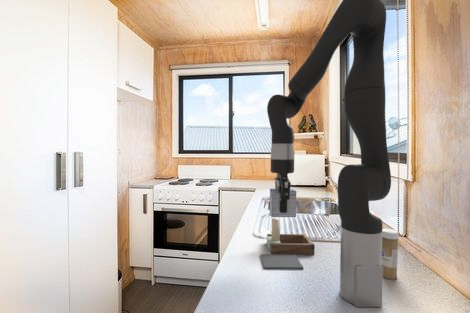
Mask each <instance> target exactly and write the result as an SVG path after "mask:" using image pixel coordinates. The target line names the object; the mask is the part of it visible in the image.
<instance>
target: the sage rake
mask: <svg viewBox="0 0 470 313" xmlns="http://www.w3.org/2000/svg"><path fill="white" fill-rule="evenodd" d="M280 228H281V218H280V217H271V234H272V236H267V235H266V246H267V249H268V251H269V252H271V243H280V241H279V240H280V234H281V229H280Z"/></svg>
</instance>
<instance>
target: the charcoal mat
mask: <svg viewBox="0 0 470 313" xmlns="http://www.w3.org/2000/svg"><path fill="white" fill-rule="evenodd" d="M260 260H261V262H262V266H263V270H304V266H303V265H302V263H301V261H300V259H299V258H298V256H297V254H271V253H267V254H266V253H260Z"/></svg>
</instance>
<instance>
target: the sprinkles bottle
mask: <svg viewBox="0 0 470 313" xmlns="http://www.w3.org/2000/svg"><path fill="white" fill-rule="evenodd" d="M399 234H400V233H399V231H397V230H396V229H392V228H382V258H381V266H382V268H383V278H385V279H391V280H394V279H397V278H398V256H399V254H398V251H399V248H398V247H399V244H398V243H399V238H400V237H399V236H400V235H399Z"/></svg>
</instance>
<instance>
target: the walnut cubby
mask: <svg viewBox="0 0 470 313" xmlns="http://www.w3.org/2000/svg"><path fill="white" fill-rule="evenodd" d="M267 236H272V233H267V234H266V237H267ZM279 241H280V243H271V251H270V254H295V255H296V256H297V255H300V256H302V255H315V248H316V247H315V243H314V242H313V241H312V240H311V239H310V238H309V237H308V236H307V234H306V233H301V234H300V233H284V234H283V233H280V240H279Z"/></svg>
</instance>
